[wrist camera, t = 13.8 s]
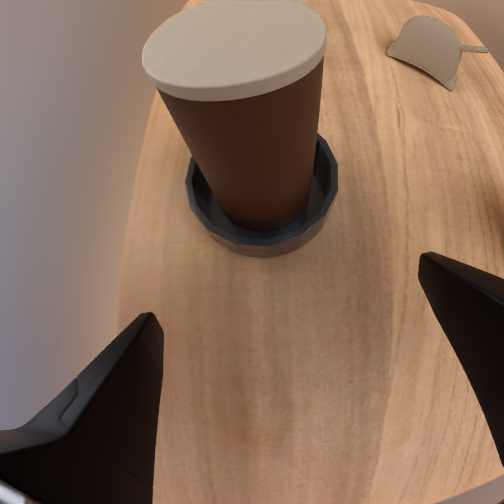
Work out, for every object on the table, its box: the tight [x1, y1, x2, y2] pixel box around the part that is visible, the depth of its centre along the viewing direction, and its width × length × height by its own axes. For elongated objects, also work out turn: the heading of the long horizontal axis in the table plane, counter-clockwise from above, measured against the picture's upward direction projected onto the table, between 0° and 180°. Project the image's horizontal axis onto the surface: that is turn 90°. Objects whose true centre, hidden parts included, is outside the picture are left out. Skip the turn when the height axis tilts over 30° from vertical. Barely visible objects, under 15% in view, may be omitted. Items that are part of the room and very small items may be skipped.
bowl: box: [185, 133, 338, 258], centre depth 17 cm, size 8×8×2 cm
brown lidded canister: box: [142, 0, 327, 232], centre depth 12 cm, size 6×6×11 cm
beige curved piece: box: [386, 16, 489, 91], centre depth 17 cm, size 4×8×5 cm, turn 52°
